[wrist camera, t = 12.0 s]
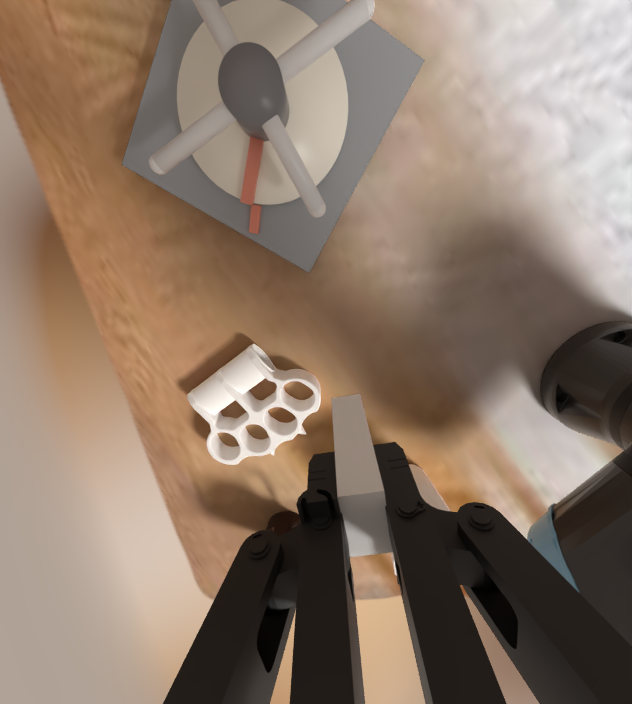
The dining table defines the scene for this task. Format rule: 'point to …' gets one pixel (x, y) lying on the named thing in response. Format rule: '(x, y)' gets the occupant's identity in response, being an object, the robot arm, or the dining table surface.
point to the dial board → (338, 185)
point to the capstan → (263, 99)
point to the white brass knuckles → (251, 405)
